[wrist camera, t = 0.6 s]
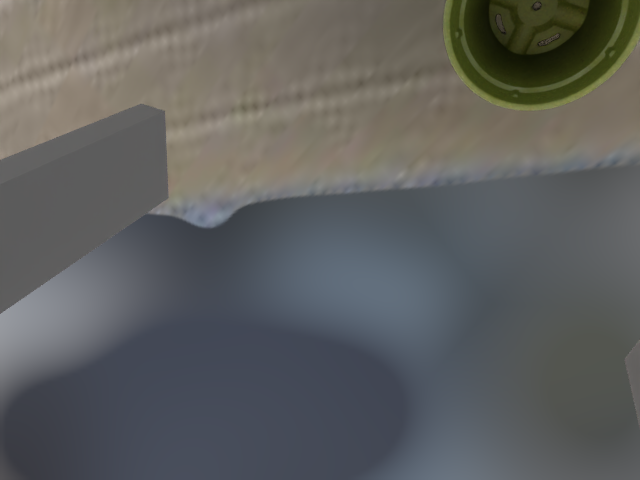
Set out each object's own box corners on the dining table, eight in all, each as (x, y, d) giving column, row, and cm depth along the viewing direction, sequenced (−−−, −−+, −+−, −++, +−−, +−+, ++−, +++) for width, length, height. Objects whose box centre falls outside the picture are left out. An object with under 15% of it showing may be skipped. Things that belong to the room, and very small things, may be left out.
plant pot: (592, -122, 27) (612, -153, 20) (645, 34, 29) (679, 56, 22) (440, -23, 32) (413, -20, 25) (496, 103, 34) (485, 139, 27)
